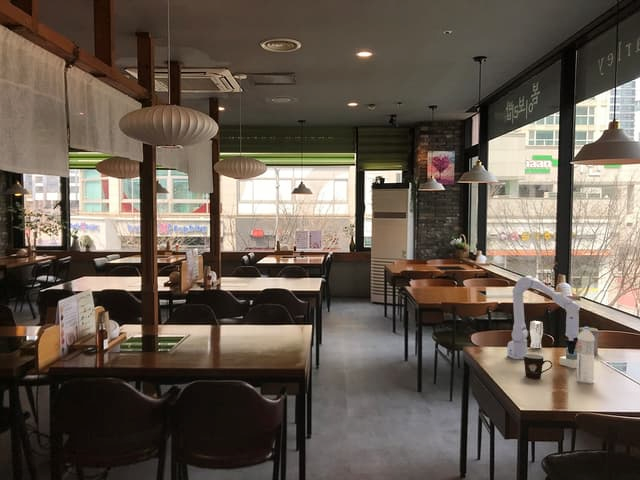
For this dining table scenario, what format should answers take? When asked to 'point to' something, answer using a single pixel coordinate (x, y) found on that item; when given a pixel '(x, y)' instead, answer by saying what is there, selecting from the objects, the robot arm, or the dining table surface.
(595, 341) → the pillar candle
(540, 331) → the beer glass
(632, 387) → the dining table surface
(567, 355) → the blue cube
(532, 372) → the coffee mug
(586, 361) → the water bottle
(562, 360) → the cream block
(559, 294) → the robot arm
